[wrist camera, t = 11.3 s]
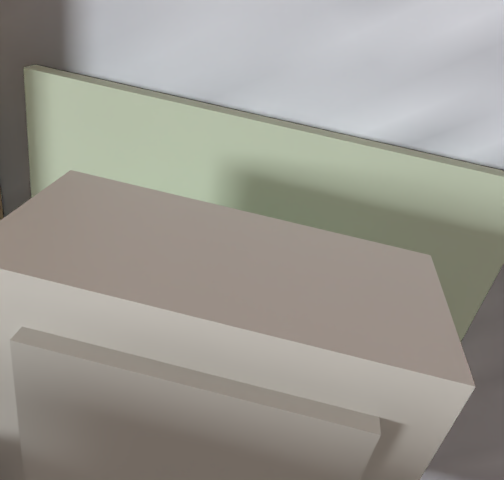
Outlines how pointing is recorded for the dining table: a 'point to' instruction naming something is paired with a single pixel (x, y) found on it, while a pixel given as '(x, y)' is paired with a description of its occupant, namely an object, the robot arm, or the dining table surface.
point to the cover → (214, 344)
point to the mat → (274, 173)
